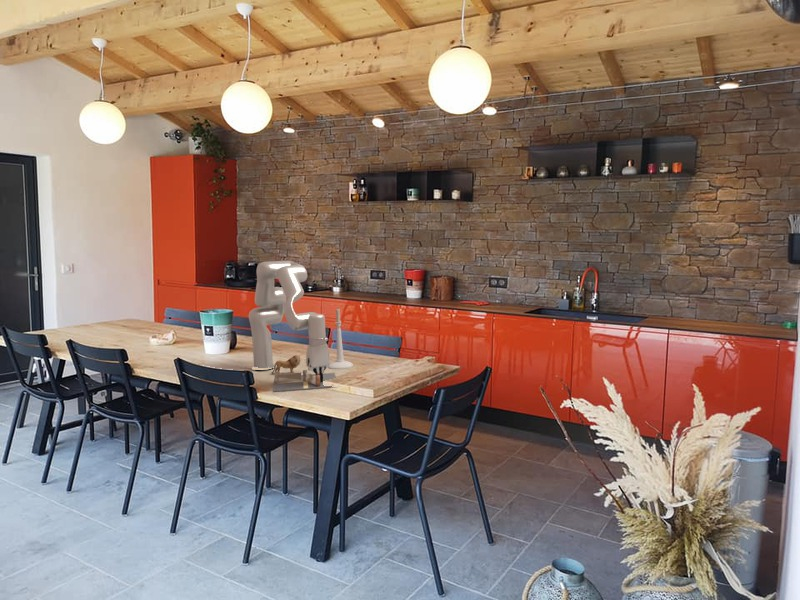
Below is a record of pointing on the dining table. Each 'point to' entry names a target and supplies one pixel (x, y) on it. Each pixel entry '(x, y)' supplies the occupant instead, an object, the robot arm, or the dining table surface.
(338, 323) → the candlestick
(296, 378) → the fence fixed
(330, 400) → the dining table surface
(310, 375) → the fence gate
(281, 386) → the board
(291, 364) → the lion figurine
